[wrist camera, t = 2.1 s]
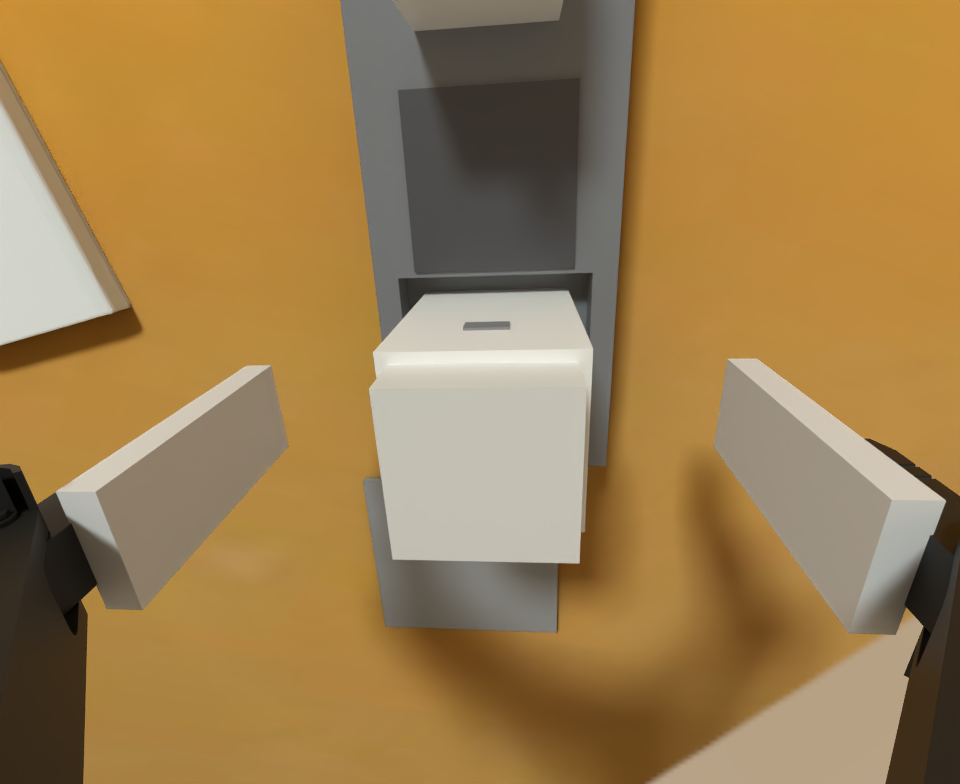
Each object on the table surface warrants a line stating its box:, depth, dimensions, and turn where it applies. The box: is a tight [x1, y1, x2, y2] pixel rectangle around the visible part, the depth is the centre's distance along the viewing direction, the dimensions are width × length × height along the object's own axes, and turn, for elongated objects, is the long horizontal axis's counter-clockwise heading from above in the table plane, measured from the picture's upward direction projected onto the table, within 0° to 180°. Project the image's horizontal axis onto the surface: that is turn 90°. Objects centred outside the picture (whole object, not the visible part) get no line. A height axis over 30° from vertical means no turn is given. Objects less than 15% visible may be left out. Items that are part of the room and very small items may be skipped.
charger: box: [369, 288, 593, 564], centre depth 15 cm, size 5×5×8 cm
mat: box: [363, 478, 558, 633], centre depth 25 cm, size 9×9×1 cm
